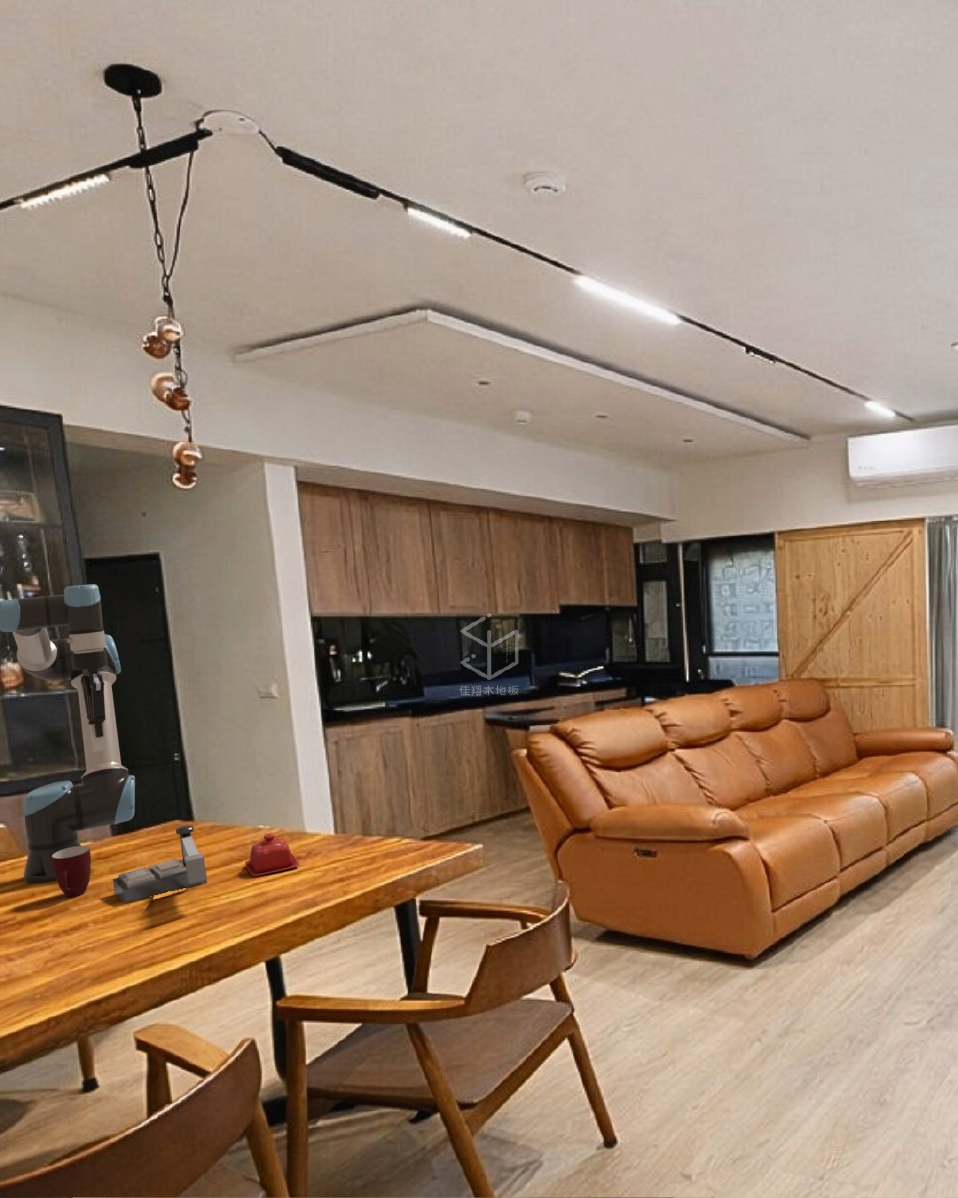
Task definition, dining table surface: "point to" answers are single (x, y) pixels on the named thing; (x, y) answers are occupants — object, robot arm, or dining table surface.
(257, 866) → the butter dish
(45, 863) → the robot arm
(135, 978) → the dining table surface
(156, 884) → the grey stepped machine part
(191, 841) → the light grey bar
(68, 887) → the mug
